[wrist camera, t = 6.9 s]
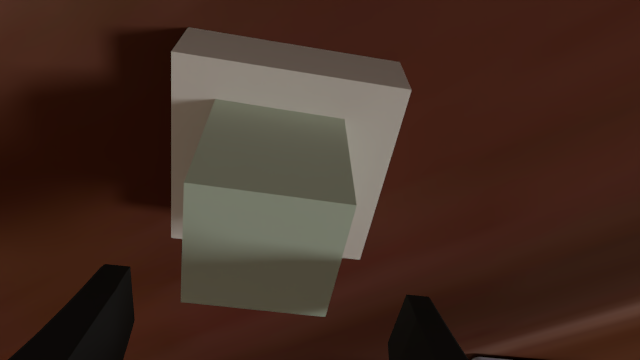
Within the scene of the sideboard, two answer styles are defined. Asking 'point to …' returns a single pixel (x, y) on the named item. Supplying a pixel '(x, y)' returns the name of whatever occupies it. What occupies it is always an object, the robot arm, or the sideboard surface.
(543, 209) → the sideboard surface
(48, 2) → the sideboard surface
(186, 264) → the green block
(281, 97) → the grey base
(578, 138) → the sideboard surface
